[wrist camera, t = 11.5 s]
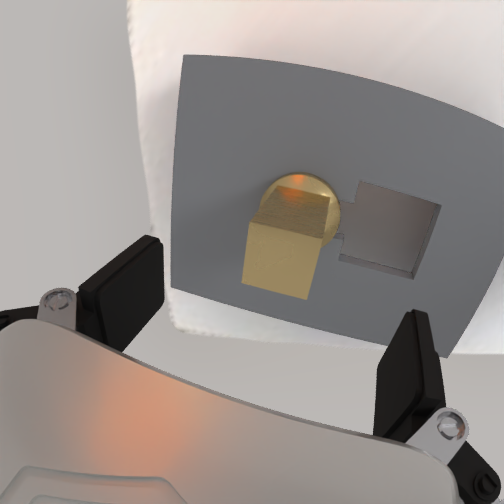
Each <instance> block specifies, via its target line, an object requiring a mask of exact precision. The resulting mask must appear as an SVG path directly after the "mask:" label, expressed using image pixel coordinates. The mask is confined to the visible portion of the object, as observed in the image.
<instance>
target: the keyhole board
mask: <svg viewBox="0 0 504 504" xmlns="http://www.w3.org/2000/svg"><path fill="white" fill-rule="evenodd" d="M292 172H307V173H311V174H314V175H317V176H319V177H321V178H322V179H324V180H325V181H326V182H328V183H329V184H330V186H331V187H332V188H333V189H334V191H335V192H336V194H337V196H338V199H339V200H342V201H345V202H349V203H353V204H354V201H355V197H356V193H357V189H358V185H359V181H361V182H365V183H369V184H373V185H376V186H380V187H383V188H387V189H390V190H394V191H397V192H401V193H404V194H407V195H411V196H414V197H417V198H420V199H423V200H427V201H430V202H433V203H436V204H437V205H436V208H435V211H434V214H433V217H432V220H431V223H430V226H429V229H428V232H427V234H426V237H425V240H424V242H423V245H422V248H421V250H420V253H419V255H418V258H417V260H416V263H415V265H414V268H413V270H412V273H410V272H406V271H403V270H399V269H395V268H391V267H388V266H384V265H380V264H376V263H372V262H369V261H365V260H361V259H357V258H353V257H350V256H346V255H342V254H340V251H341V248H342V244H343V241H344V234H340V233H336V234H335V236H334V237H333V238H332V240H331V241H330V242H329V243H327V244H326V245H325V246H323V247H322V248H320V252H319V256H318V260H317V264H316V268H315V271H314V275H313V279H312V283H311V286H310V290H309V294H308V297H307V300H305V299H301V298H297V297H293V296H289V295H285V294H281V293H277V292H274V291H270V290H266V289H262V288H258V287H255V286H251V285H247V284H244V283H241V282H242V274H243V267H244V259H245V251H246V244H247V236H248V229H249V222H250V220H251V219H252V218H253V217H254V215H255V214H256V213H257V211H258V210H259V206H260V202H261V199H262V197H263V195H264V193H265V191H266V190H267V189H268V188H269V186H270V185H271V184H272V183H273V182H274V181H275V180H276V179H278V178H279V177H281V176H283V175H285V174H288V173H292ZM503 256H504V128H503V127H500V126H498V125H496V124H494V123H492V122H490V121H488V120H485V119H483V118H481V117H479V116H476V115H474V114H471V113H469V112H467V111H464V110H462V109H459V108H457V107H454V106H452V105H449V104H446V103H444V102H441V101H438V100H435V99H433V98H430V97H427V96H424V95H421V94H418V93H415V92H412V91H409V90H405V89H402V88H399V87H396V86H392V85H389V84H385V83H382V82H378V81H374V80H370V79H366V78H362V77H358V76H354V75H350V74H345V73H341V72H336V71H331V70H326V69H321V68H316V67H310V66H304V65H298V64H292V63H285V62H278V61H270V60H261V59H252V58H241V57H228V56H212V55H183V63H182V71H181V80H180V90H179V100H178V110H177V122H176V135H175V149H174V165H173V184H172V210H171V287H172V288H175V289H179V290H182V291H185V292H188V293H191V294H195V295H198V296H201V297H204V298H208V299H211V300H214V301H218V302H221V303H224V304H228V305H231V306H234V307H238V308H241V309H245V310H248V311H252V312H255V313H259V314H263V315H266V316H270V317H273V318H277V319H281V320H284V321H288V322H292V323H296V324H299V325H303V326H307V327H311V328H315V329H319V330H323V331H327V332H331V333H335V334H339V335H343V336H347V337H351V338H355V339H360V340H364V341H368V342H373V343H377V344H381V345H386V346H389V344H390V342H391V340H392V338H393V336H394V334H395V332H396V330H397V329H398V327H399V325H400V323H401V321H402V319H403V317H404V315H405V313H406V312H407V311H408V312H411V310H412V309H416V310H420V311H424V312H427V313H428V317H429V322H430V326H431V331H432V337H433V342H434V348H435V351H436V352H437V353H438V355H439V357H444V358H448V356H449V355H450V353H451V352H452V350H453V349H454V347H455V345H456V344H457V342H458V341H459V339H460V337H461V336H462V334H463V333H464V331H465V329H466V328H467V326H468V324H469V323H470V321H471V319H472V317H473V316H474V314H475V312H476V310H477V308H478V307H479V305H480V303H481V301H482V299H483V297H484V295H485V294H486V292H487V290H488V288H489V286H490V284H491V282H492V280H493V278H494V276H495V274H496V271H497V269H498V267H499V265H500V263H501V261H502V259H503Z"/></svg>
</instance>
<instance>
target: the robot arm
mask: <svg viewBox="0 0 504 504" xmlns="http://www.w3.org/2000/svg"><path fill="white" fill-rule="evenodd" d="M78 288H79V291H78V292H77V293H76V294H75V293H74V291H72V290H70V289H67V288H56V289H53V290H50V291H48V292H47V293H45V294H44V295H43V296H42V298H41V300H40V305H38V306H32V307H25V308H18V309H12V310H4V311H1V312H0V504H504V500H501V501H500V500H499V498H498V496H499V494H500V490H501V482H500V479H499V476H498V475H497V473H496V472H495V471H494V470H493V469H492V468H491V467H490V466H489V464H487V463H486V461H485V460H484V459H483V458H482V457H481V456H480V455H479V454H478V453H477V452H476V451H475V450H474V449H473V448H472V446H471V445H470V444H469V443H468V442H467V441H466V439H467V437H468V435H469V426H468V423H467V420H466V418H465V417H464V416H463V415H462V414H461V413H460V412H459V411H457V410H456V409H453V408H447V407H446V402H445V393H444V385H443V379H442V372H441V366H440V360H439V355H438V353H437V352H436V351H435V348H434V342H433V337H432V331H431V326H430V322H429V317H428V313H427V312H424V311H420V310H416V309H412V310H411V312H408V311H407V312H406V313H405V315H404V317H403V319H402V321H401V323H400V325H399V327H398V329H397V330H396V332H395V334H394V336H393V338H392V340H391V342H390V344H389V346H388V347H387V349H386V351H385V353H384V355H383V357H382V358H381V360H380V362H379V364H378V368H377V380H376V381H377V382H376V400H375V415H374V428H373V435H369V434H365V433H360V432H355V431H351V430H347V429H342V428H338V427H334V426H330V425H326V424H322V423H318V422H314V421H310V420H306V419H302V418H299V417H295V416H292V415H288V414H284V413H281V412H278V411H274V410H271V409H268V408H264V407H261V406H258V405H255V404H252V403H249V402H246V401H243V400H240V399H236V398H234V397H231V396H228V395H225V394H222V393H219V392H216V391H214V390H211V389H208V388H206V387H203V386H200V385H198V384H195V383H192V382H190V381H187V380H185V379H182V378H180V377H177V376H175V375H172V374H170V373H167V372H165V371H162V370H160V369H158V368H155V367H153V366H151V365H148V364H146V363H144V362H142V361H139V360H137V359H135V358H133V357H130V356H128V355H126V354H124V353H122V352H123V351H124V350H125V348H126V347H127V346H128V345H129V344H130V342H131V341H132V340H133V339H134V338H135V337H136V335H137V334H138V333H139V332H140V331H141V330H142V328H143V327H144V326H145V325H146V324H147V323H148V321H149V320H150V319H151V318H152V317H153V316H154V315H155V313H156V312H157V311H158V310H159V309H160V308H161V306H162V305H163V303H164V256H163V244H162V243H160V239H159V238H156V237H152V236H149V235H144V236H143V237H141V238H140V239H139V240H137V241H136V242H135V243H133V244H132V245H131V246H129V247H128V248H127V249H125V250H124V251H123V252H122V253H120V254H119V255H118V256H116V257H115V258H114V259H113V260H111V261H110V262H109V263H107V265H105V266H104V267H103V268H101V269H100V270H99V271H97V272H96V273H95V274H94V275H92V276H91V277H90V278H89V279H88V280H86V281H85V282H84V283H83V284H81V285H80V286H79V287H78Z"/></svg>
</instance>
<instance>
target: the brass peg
mask: <svg viewBox="0 0 504 504" xmlns="http://www.w3.org/2000/svg"><path fill="white" fill-rule="evenodd" d="M340 211H341V209H340V202H339V199H338V196H337V194H336V192H335V191H334V189H333V188H332V187H331V186H330V184H329V183H328V182H326V181H325V180H324V179H322V178H321V177H319V176H317V175H314V174H311V173H307V172H292V173H288V174H285V175H283V176H281V177H279V178H278V179H276V180H275V181H274V182H273V183H272V184H271V185H270V186H269V188H268V189H267V190H266V191H265V193H264V195H263V197H262V199H261V202H260V206H259V210H258V211H257V213H256V214H255V215H254V217H253V218H252V219H251V220H250V222H249V229H248V236H247V244H246V251H245V259H244V267H243V274H242V282H241V283H244V284H247V285H251V286H255V287H258V288H262V289H266V290H270V291H274V292H277V293H281V294H285V295H289V296H293V297H297V298H301V299H305V300H307V297H308V294H309V290H310V286H311V283H312V279H313V275H314V271H315V268H316V264H317V260H318V256H319V252H320V248H322V247H323V246H325V245H326V244H327V243H329V242H330V241H331V240H332V238H333V237H334V236H335V234H336V232H337V230H338V227H339V223H340Z"/></svg>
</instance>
